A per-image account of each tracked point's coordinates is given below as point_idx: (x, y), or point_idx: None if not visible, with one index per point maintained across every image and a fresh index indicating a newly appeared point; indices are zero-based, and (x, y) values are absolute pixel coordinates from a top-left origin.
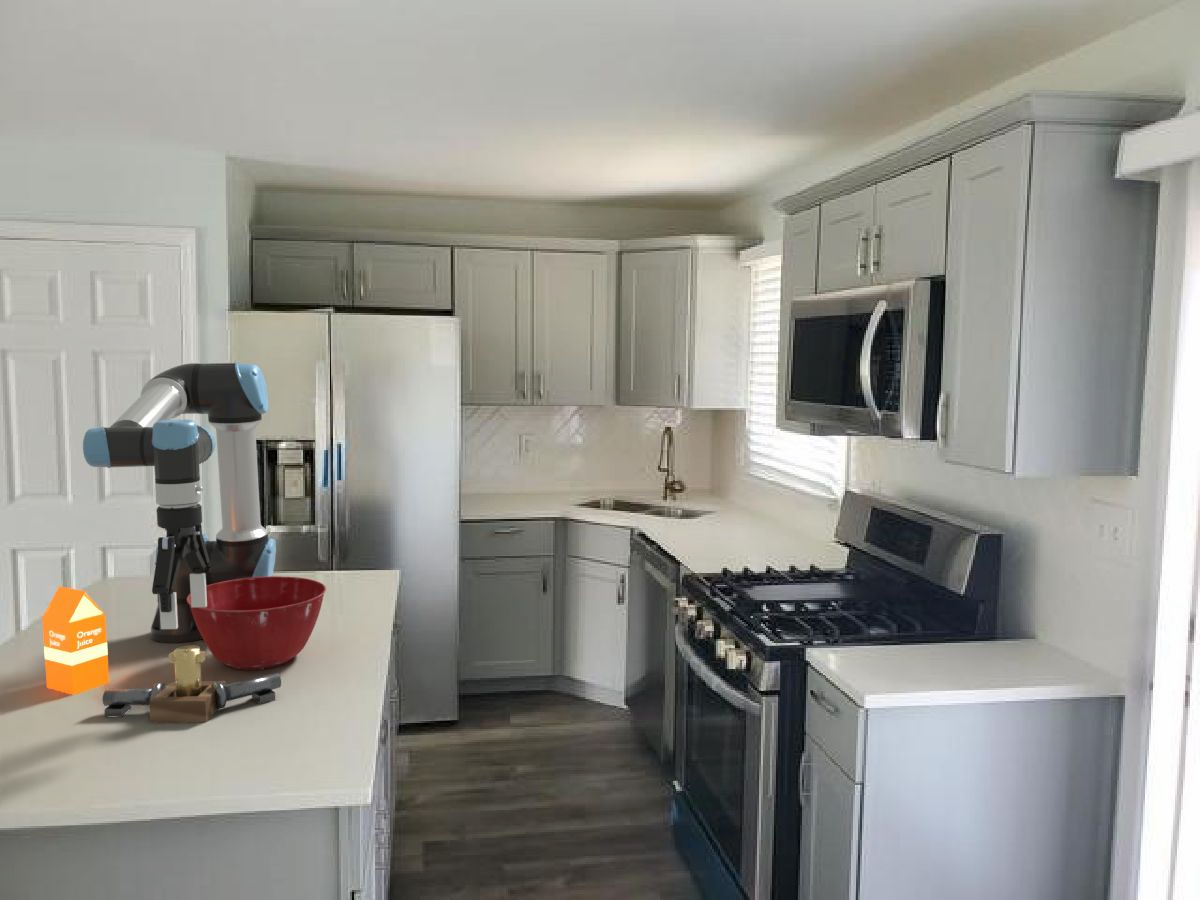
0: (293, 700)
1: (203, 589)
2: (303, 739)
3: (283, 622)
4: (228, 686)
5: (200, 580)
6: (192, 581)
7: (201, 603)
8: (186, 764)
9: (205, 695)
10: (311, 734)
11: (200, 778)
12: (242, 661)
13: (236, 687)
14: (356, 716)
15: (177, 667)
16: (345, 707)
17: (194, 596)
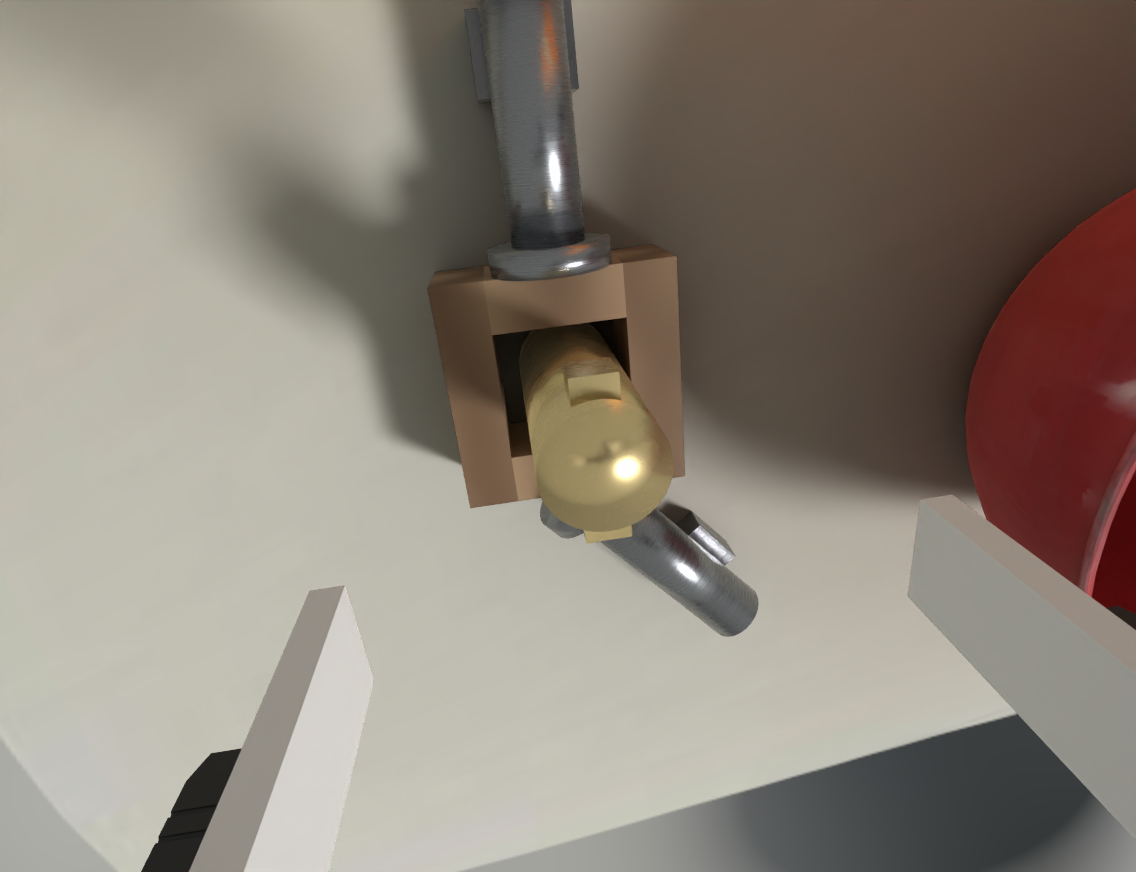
0: (670, 635)
1: (1018, 699)
2: (391, 767)
3: None
4: None
5: (1100, 764)
6: (1115, 683)
7: (928, 591)
8: (148, 575)
9: (523, 481)
10: (426, 771)
11: (79, 654)
12: (969, 392)
13: (614, 548)
14: (557, 814)
15: (535, 414)
16: (618, 772)
17: (980, 582)
